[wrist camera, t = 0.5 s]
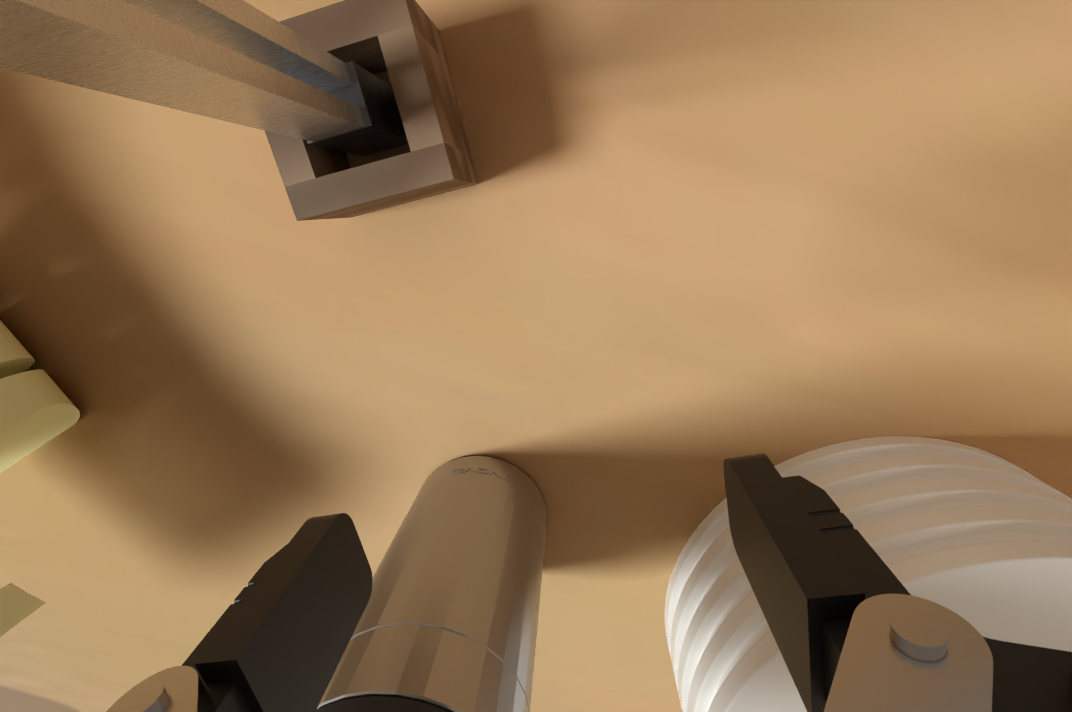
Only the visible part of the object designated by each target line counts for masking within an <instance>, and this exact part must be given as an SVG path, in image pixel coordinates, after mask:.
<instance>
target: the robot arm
mask: <svg viewBox="0 0 1072 712" xmlns="http://www.w3.org/2000/svg"><path fill="white" fill-rule="evenodd" d="M724 476H725V486H726V497H727V507H728V517H729V526H730V531H731V536H732V540H733V544H734V547H735V550H736V553H737V556H738V558H739V560H740V563H741V565H742V567H743V569H744V572H745V574H746V576H747V578H748V581H749V583H750V585H751V587H752V590H753V592H754V594H755V596H756V598H757V601H758V603H759V605H760V607H761V610H762V612H763V614H764V616H765V619H766V621H767V623H768V625H769V627H770V630H771V632H772V634H773V636H774V639H775V641H776V643H777V645H778V648H779V650H780V652H781V654H782V657H783V659H784V661H785V663H786V665H787V668H788V670H789V672H790V674H791V677H792V679H793V681H794V683H795V686H796V688H797V690H798V692H799V694H800V697H801V699H802V701H803V703H804V706H805V708H806V710H807V712H1072V652H1069V651H1063V650H1056V649H1050V648H1043V647H1037V646H1031V645H1024V644H1018V643H1012V642H1005V641H1000V640H995V639H990V638H986V637H983V636H982V635H981V634H980V633H979V632H978V631H977V630H976V629H975V628H974V627H973V626H972V625H971V624H970V623H969V622H968V621H966V620H965V619H963V618H962V617H961V616H959V615H958V614H956V613H955V612H953V611H951V610H949V609H948V608H946V607H944V606H941V605H939V604H937V603H935V602H932V601H929V600H926V599H923V598H920V597H916V596H912V595H911V594H910V593H909V592H908V591H907V590H906V588H905V587H904V586H903V585H902V583H901V582H900V581H899V580H898V579H897V577H896V576H895V575H894V574H893V573H892V571H891V570H890V569H889V568H888V567H887V565H886V564H885V563H884V562H883V560H882V559H881V558H880V557H879V556H878V554H877V553H876V552H875V551H874V550H873V548H872V547H871V546H870V545H869V544H868V542H867V541H866V540H865V539H864V537H863V536H862V535H861V534H860V533H859V531H858V530H857V529H854V527H853V524H852V523H851V522H850V521H849V519H848V518H847V517H846V516H845V515H844V513H841V512H840V508H839V507H838V506H837V505H836V504H835V502H834V501H833V500H832V499H831V498H830V496H829V495H828V494H827V493H826V492H825V490H824V489H822V488H820V487H818V486H817V485H815V484H813V483H812V482H810V481H808V480H807V479H805V478H803V477H801V476H800V475H798V476H791V477H783V478H782V477H781V475H780V474H779V472H778V471H777V470H776V468H775V467H774V466H773V464H772V463H771V461H770V460H769V459H768V457H767V456H766V455H765V454H757V455H749V456H742V457H735V458H728V459H725V460H724ZM546 526H547V512H546V506H545V502H544V499H543V496H542V494H541V493H540V491H539V489H538V487H537V485H536V484H535V483H534V482H533V481H532V480H531V479H530V478H529V476H528V475H527V474H525V473H524V472H523V471H521V470H520V469H519V468H517V467H516V466H514V465H512V464H510V463H507V462H505V461H503V460H500V459H496V458H492V457H486V456H469V457H461V458H458V459H455V460H452V461H449V462H447V463H445V464H444V465H442V466H440V467H439V468H437V469H436V470H435V471H434V472H433V473H432V474H431V475H430V476H429V477H428V478H427V480H426V481H425V483H424V485H423V486H422V488H421V490H420V491H419V493H418V495H417V497H416V499H415V501H414V503H413V504H412V506H411V508H410V510H409V512H408V514H407V515H406V517H405V519H404V521H403V522H402V524H401V526H400V528H399V530H398V532H397V534H396V535H395V537H394V539H393V541H392V543H391V545H390V547H389V548H388V550H387V552H386V554H385V556H384V558H383V560H382V561H381V563H380V565H379V567H378V569H377V571H376V573H375V574H374V576H373V578H372V572H371V568H370V565H369V563H368V560H367V557H366V555H365V552H364V550H363V547H362V544H361V542H360V539H359V536H358V534H357V531H356V529H355V526H354V523H353V521H352V519H351V518H350V516H349V515H347V514H345V513H341V514H334V515H326V516H319V517H312V518H309V519H308V520H307V521H306V522H305V523H304V524H303V526H302V527H301V528H300V529H299V531H298V532H297V533H296V535H295V536H294V537H293V538H292V540H291V541H290V542H289V543H288V544H287V545H286V546H285V547H283V548H282V549H281V550H280V551H278V552H277V553H276V554H275V555H274V556H272V557H271V558H270V559H269V560H267V561H266V562H265V563H264V564H263V565H262V566H261V568H260V569H259V570H258V571H257V573H256V574H255V575H254V576H253V578H252V579H251V580H250V581H249V583H248V587H245V588H244V589H243V590H242V591H241V593H240V594H239V595H238V596H237V598H236V599H235V600H234V601H235V603H234V604H232V605H230V606H229V607H228V609H227V610H226V611H225V612H224V614H223V615H222V616H221V617H220V619H219V620H218V621H217V622H216V624H215V625H214V626H213V627H212V629H211V630H210V631H209V632H208V634H207V635H206V636H205V637H204V638H203V640H202V641H201V642H200V643H199V645H198V646H197V647H196V648H195V650H194V651H193V652H192V653H191V655H190V656H189V657H188V658H187V660H186V661H185V662H184V663H183V665H182V666H176V667H172V668H168V669H166V670H163V671H161V672H158V673H156V674H154V675H152V676H150V677H149V678H147V679H145V680H143V681H142V682H140V683H139V684H137V685H136V686H134V687H133V688H132V689H130V690H129V691H128V692H127V693H125V694H124V695H123V696H122V697H121V698H120V699H118V700H117V701H116V702H115V703H114V704H113V705H112V706H111V707H110V708H109V709H108V711H107V712H530V702H531V691H532V680H533V669H534V657H535V646H536V635H537V624H538V613H539V602H540V591H541V579H542V568H543V559H544V549H545V537H546Z"/></svg>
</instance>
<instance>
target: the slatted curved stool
mask: <svg viewBox="0 0 1072 712" xmlns="http://www.w3.org/2000/svg"><path fill="white" fill-rule="evenodd" d="M34 362H35V360H34V358H33V357H32V356H31V355H30V354H29V353H28V351H27V350H26V349H25V348H24V347H23V346H22V345H21V343H20V342H19V341H18V340H17V339H16V338H15V336H14V335H13V334H12V333H11V332H10V331H9V330H8V328H7V327H6V326H5V325H4V324H3V323H2V321H1V320H0V473H1V472H3V471H4V470H6V469H7V468H9V467H10V466H12V465H13V464H15V463H16V462H18V461H19V460H21V459H23V458H24V457H26V456H27V455H29V454H30V453H32V452H33V451H35V450H36V449H38V448H39V447H41V446H42V445H44V444H45V443H47V442H48V441H50V440H51V439H53V438H54V437H56V436H58V435H59V434H61V433H62V432H64V431H65V430H67V429H68V428H70V427H71V426H73V425H74V424H75V423H76V422H77V421H78V420H79V417H80V412H79V410H78V409H77V408H76V407H75V406H74V404H73V403H72V402H71V401H70V400H69V399H68V398H67V396H66V395H65V394H64V393H63V392H62V391H61V389H60V388H59V387H58V386H57V385H56V384H55V383H54V381H53V380H52V379H51V378H50V377H49V376H48V375H47V373H46V372H45V371H44V370H40V369H38V370H31V371H26V370H27V369H28V368H30V367H31V366H32V365H33V364H34ZM25 371H26V372H25ZM44 603H46V602H44V601H42V600H40V599H38V598H36V597H34V596H33V595H31V594H29V593H27V592H25V591H24V590H22V589H20V588H19V587H17V586H15V585H14V584H12V583H10V584H8V585H7V586H5V587H3V588H2V589H0V637H1V636H2V635H3V634H5V633H6V632H7V631H9V630H10V629H11V628H13V627H14V626H15V625H17V624H18V623H19V622H21V621H22V620H23V619H25V618H26V617H27V616H29V615H30V614H31V613H32V612H34V611H35V610H36V609H38V608H39V607H40V606H42V605H43V604H44Z"/></svg>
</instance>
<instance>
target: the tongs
mask: <svg viewBox="0 0 1072 712" xmlns="http://www.w3.org/2000/svg"><path fill="white" fill-rule="evenodd" d="M0 68H3V69H7V70H12V71H16V72H20V73H24V74H29V75H33V76H37V77H41V78H45V79H50V80H54V81H58V82H62V83H67V84H71V85H75V86H79V87H83V88H88V89H92V90H96V91H100V92H105V93H109V94H113V95H117V96H121V97H126V98H130V99H134V100H138V101H143V102H147V103H151V104H155V105H160V106H164V107H168V108H172V109H176V110H181V111H185V112H189V113H193V114H198V115H202V116H206V117H210V118H214V119H219V120H223V121H227V122H231V123H236V124H240V125H244V126H248V127H253V128H257V129H261V130H265V131H269V132H274V133H278V134H282V135H286V136H291V137H295V138H299V139H303V140H307V143H308V144H311V145H315V146H319V147H324V148H328V149H333V150H337V151H342V152H346V153H351V154H355V155H360V156H367V155H371V154H374V153H378V152H381V151H385V150H389V149H392V148H396V147H399V146H403V145H407V144H409V143H408V140H407V137H406V133H405V130H404V126H403V123H402V119H401V116H400V112H399V109H398V105H397V102H396V98H395V95H394V91H393V88H392V86H390V85H389V84H387V83H386V82H384V81H383V80H381V79H379V78H378V77H376V76H375V75H373V74H372V73H370V72H369V71H367V70H365V69H364V68H362V67H361V66H359V65H358V64H356V63H354V62H353V61H351V62H348V63H345V62H343V61H341V60H340V59H338V58H336V57H335V56H333V55H331V54H330V53H328V52H327V51H325V50H323V49H322V48H320V47H318V46H317V45H315V44H314V43H312V42H310V41H309V40H307V39H305V38H304V37H302V36H301V35H299V34H297V33H296V32H294V31H292V30H291V29H289V28H288V27H286V26H284V25H283V24H281V23H279V22H278V21H276V20H274V19H273V18H271V17H270V16H268V15H266V14H265V13H263V12H261V11H260V10H258V9H257V8H255V7H253V6H252V5H250V4H248V3H247V2H245V1H244V0H0Z"/></svg>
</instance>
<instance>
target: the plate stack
mask: <svg viewBox="0 0 1072 712" xmlns="http://www.w3.org/2000/svg"><path fill="white" fill-rule="evenodd" d="M774 467H775V468H776V470H777V471H778V472H779V474H780V475H781V477H782V478H783V477H791V476H798V475H800V476H801V477H803V478H805V479H807V480H808V481H810V482H812V483H813V484H815V485H817V486H818V487H820V488H822V489H824V490H825V492H826V493H827V494H828V495H829V496H830V498H831V499H832V500H833V501H834V502H835V504H836V505H837V506H838V507H839V508H840V512H841V513H844V515H845V516H846V517H847V518H848V519H849V521H850V522H851V523H852V524H853V527H854V529H857V530H858V531H859V533H860V534H861V535H862V536H863V537H864V539H865V540H866V541H867V542H868V544H869V545H870V546H871V547H872V548H873V550H874V551H875V552H876V553H877V554H878V556H879V557H880V558H881V559H882V560H883V562H884V563H885V564H886V565H887V567H888V568H889V569H890V570H891V571H892V573H893V574H894V575H895V576H896V577H897V579H898V580H899V581H900V582H901V583H902V585H903V586H904V587H905V588H906V590H907V591H908V592H909V593H910V594H911V595H912V596H916V597H920V598H923V599H926V600H929V601H932V602H935V603H937V604H939V605H941V606H944V607H946V608H948V609H949V610H951V611H953V612H955V613H956V614H958V615H959V616H961V617H962V618H963V619H965V620H966V621H968V622H969V623H970V624H971V625H972V626H973V627H974V628H975V629H976V630H977V631H978V632H979V633H980V634H981V635H982V636H983V637H986V638H990V639H995V640H1000V641H1005V642H1012V643H1018V644H1024V645H1031V646H1037V647H1043V648H1050V649H1056V650H1063V651H1069V652H1072V499H1071V498H1070V497H1068V496H1066V495H1065V494H1063V493H1061V492H1060V491H1058V490H1056V489H1055V488H1053V487H1051V486H1049V485H1048V484H1046V483H1044V482H1042V481H1040V480H1039V479H1037V478H1036V477H1034V476H1033V475H1031V474H1029V473H1028V472H1026V471H1024V470H1023V469H1021V468H1019V467H1018V466H1016V465H1014V464H1012V463H1011V462H1009V461H1007V460H1005V459H1003V458H1001V457H998V456H996V455H994V454H992V453H989V452H986V451H984V450H981V449H978V448H975V447H972V446H968V445H965V444H961V443H956V442H952V441H947V440H941V439H934V438H925V437H909V436H890V437H874V438H865V439H858V440H852V441H846V442H841V443H837V444H833V445H829V446H825V447H821V448H818V449H815V450H812V451H809V452H806V453H803V454H800V455H798V456H795V457H793V458H790V459H788V460H786V461H783V462H781V463H779V464H777V465H775V466H774ZM665 631H666V638H667V642H668V647H669V652H670V656H671V660H672V666H673V671H674V675H675V680H676V685H677V689H678V693H679V698H680V704H681V709H682V712H807V710H806V708H805V706H804V703H803V701H802V699H801V697H800V694H799V692H798V690H797V688H796V686H795V683H794V681H793V679H792V677H791V674H790V672H789V670H788V668H787V665H786V663H785V661H784V659H783V657H782V654H781V652H780V650H779V648H778V645H777V643H776V641H775V639H774V636H773V634H772V632H771V630H770V627H769V625H768V623H767V621H766V619H765V616H764V614H763V612H762V610H761V607H760V605H759V603H758V601H757V598H756V596H755V594H754V592H753V590H752V587H751V585H750V583H749V581H748V578H747V576H746V574H745V572H744V569H743V567H742V565H741V563H740V560H739V558H738V556H737V553H736V550H735V547H734V544H733V540H732V536H731V531H730V526H729V517H728V507H727V497H726V498H725V499H724V500H723V501H722V502H720V503H719V504H718V505H717V506H716V507H715V508H714V509H713V510H712V511H711V512H710V513H709V514H708V515H707V516H706V518H705V519H704V520H703V521H702V522H701V523H700V525H699V526H698V527H697V528H696V530H695V531H694V532H693V534H692V535H691V537H690V538H689V540H688V541H687V543H686V545H685V546H684V548H683V550H682V552H681V553H680V555H679V557H678V560H677V562H676V564H675V566H674V569H673V572H672V575H671V578H670V581H669V585H668V589H667V594H666V601H665Z"/></svg>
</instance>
